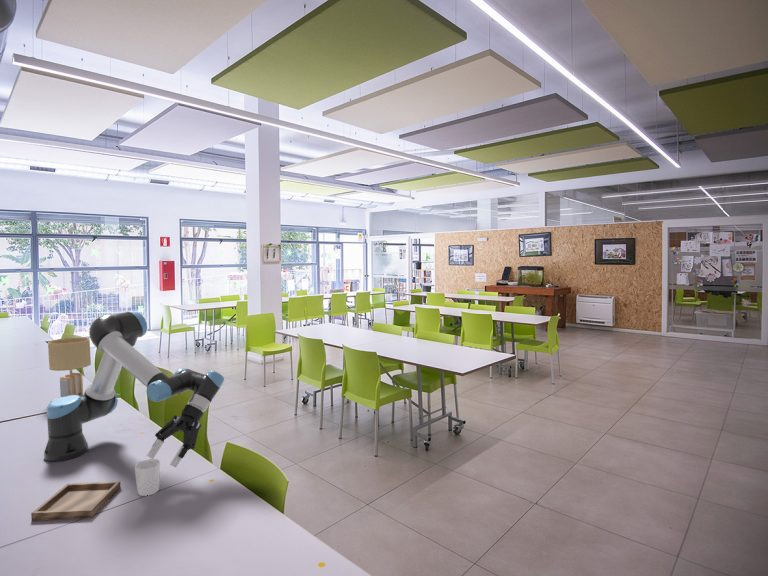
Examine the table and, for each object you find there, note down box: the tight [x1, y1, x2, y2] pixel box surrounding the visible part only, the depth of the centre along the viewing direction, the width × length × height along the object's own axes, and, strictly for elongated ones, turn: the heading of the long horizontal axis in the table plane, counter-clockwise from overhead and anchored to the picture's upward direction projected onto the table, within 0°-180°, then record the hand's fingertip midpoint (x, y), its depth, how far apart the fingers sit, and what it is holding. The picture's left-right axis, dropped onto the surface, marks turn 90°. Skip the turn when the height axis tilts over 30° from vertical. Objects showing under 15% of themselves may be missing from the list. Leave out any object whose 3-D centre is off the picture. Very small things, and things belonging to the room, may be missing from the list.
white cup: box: [134, 458, 161, 497], centre depth 155 cm, size 8×8×10 cm
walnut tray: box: [30, 480, 121, 522], centre depth 147 cm, size 18×18×2 cm
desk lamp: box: [47, 336, 92, 403], centre depth 251 cm, size 20×20×35 cm
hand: (160, 461), depth 158 cm, fingers open, 13 cm apart
